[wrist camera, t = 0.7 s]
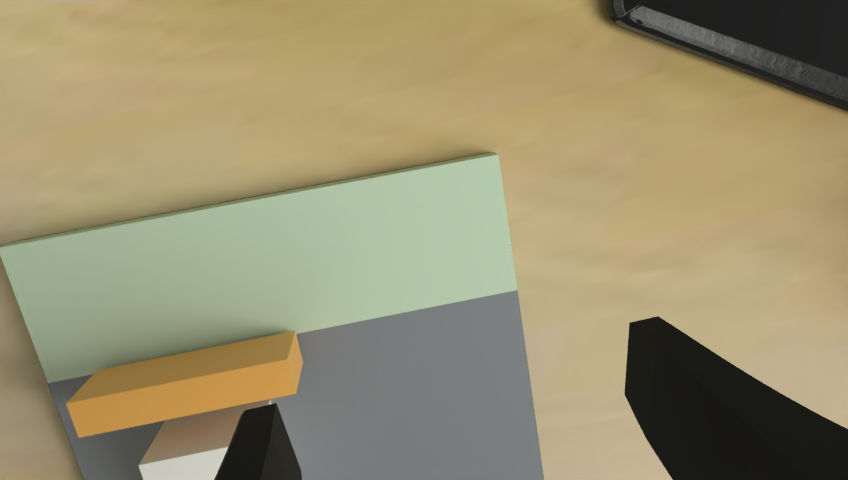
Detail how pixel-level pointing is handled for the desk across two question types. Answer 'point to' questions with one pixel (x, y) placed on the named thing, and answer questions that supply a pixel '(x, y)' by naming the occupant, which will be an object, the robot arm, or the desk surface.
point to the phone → (754, 38)
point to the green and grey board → (311, 319)
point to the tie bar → (187, 384)
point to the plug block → (192, 445)
